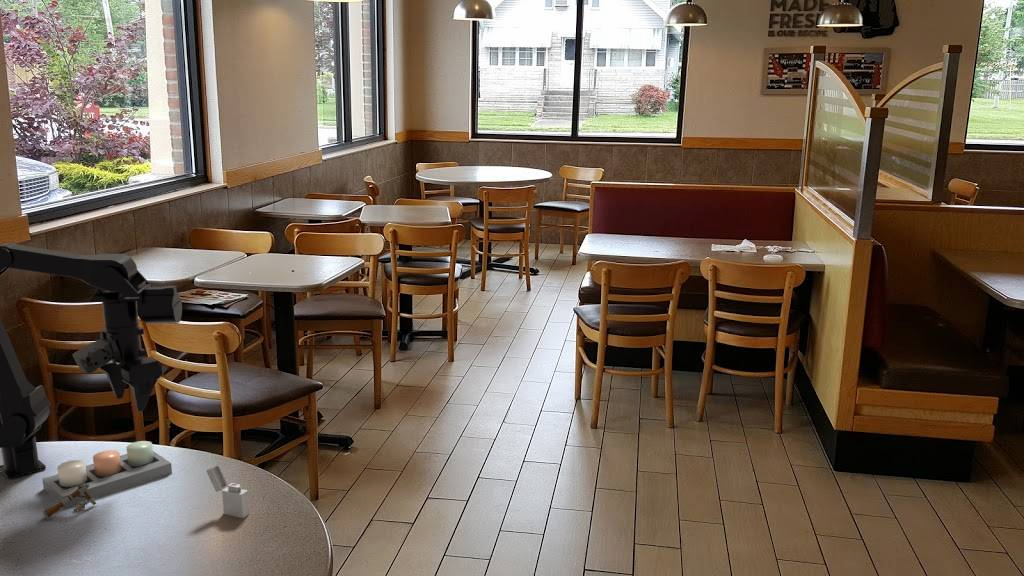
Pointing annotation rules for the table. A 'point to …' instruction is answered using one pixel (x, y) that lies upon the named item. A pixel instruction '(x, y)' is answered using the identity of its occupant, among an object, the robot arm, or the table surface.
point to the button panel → (110, 479)
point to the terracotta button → (107, 463)
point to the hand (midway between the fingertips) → (130, 404)
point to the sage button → (140, 453)
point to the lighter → (229, 493)
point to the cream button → (72, 473)
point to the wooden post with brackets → (68, 499)
